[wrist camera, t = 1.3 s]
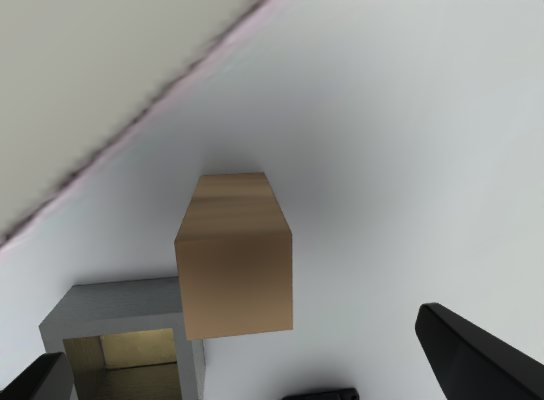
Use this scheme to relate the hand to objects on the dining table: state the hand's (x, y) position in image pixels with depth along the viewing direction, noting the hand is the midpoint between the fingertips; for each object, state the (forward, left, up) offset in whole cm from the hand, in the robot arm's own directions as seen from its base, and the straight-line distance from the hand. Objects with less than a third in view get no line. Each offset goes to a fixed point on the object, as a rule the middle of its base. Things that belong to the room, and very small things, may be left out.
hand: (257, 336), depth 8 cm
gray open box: (-10, +8, -13) cm, 18 cm away
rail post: (-1, +1, -13) cm, 13 cm away
